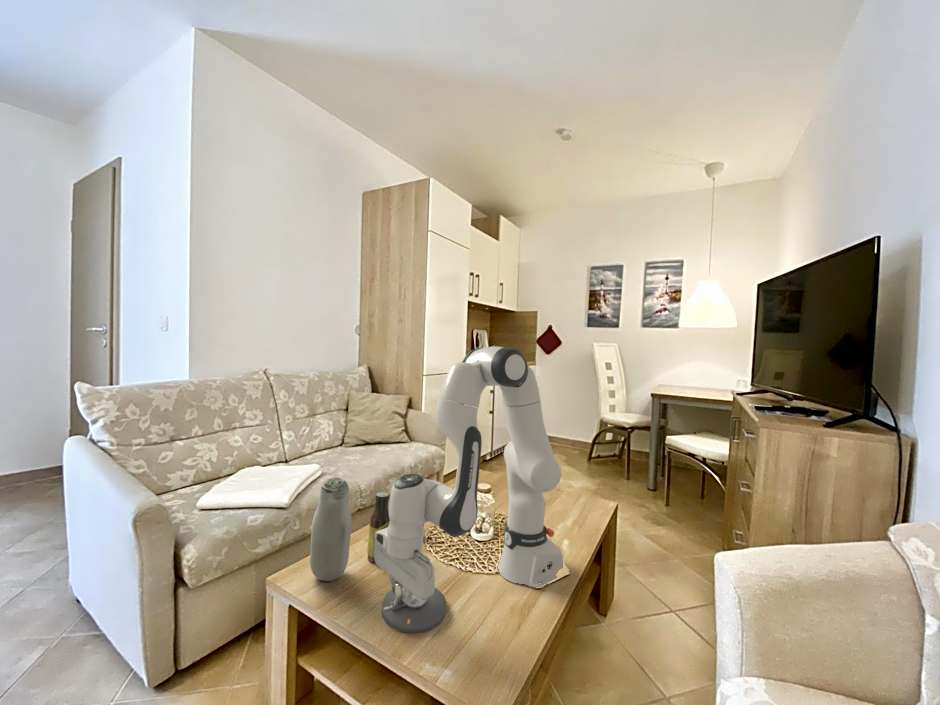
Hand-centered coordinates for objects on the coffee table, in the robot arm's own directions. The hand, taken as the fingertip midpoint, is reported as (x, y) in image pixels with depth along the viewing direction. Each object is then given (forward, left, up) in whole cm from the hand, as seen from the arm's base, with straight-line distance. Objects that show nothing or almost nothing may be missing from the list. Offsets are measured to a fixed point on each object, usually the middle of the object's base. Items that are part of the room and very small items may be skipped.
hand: (401, 597), depth 99 cm
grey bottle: (+14, -22, -5) cm, 27 cm away
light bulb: (-2, -1, -3) cm, 4 cm away
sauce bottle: (-1, -27, -5) cm, 28 cm away
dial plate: (-4, -1, -5) cm, 7 cm away
